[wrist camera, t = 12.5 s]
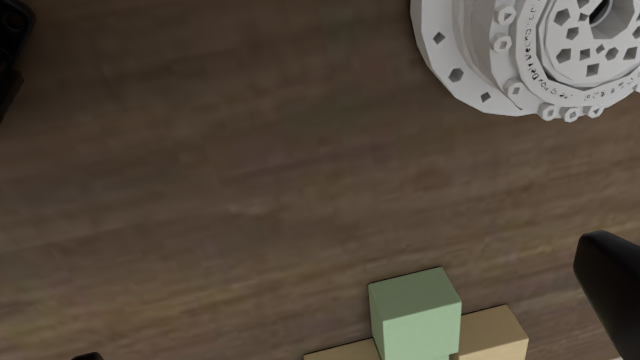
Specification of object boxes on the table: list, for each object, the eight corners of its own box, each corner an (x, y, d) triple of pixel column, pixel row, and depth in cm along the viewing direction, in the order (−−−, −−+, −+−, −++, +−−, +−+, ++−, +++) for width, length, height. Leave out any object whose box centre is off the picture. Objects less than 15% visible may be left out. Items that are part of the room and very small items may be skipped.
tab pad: (367, 283, 27) (382, 321, 25) (441, 266, 28) (462, 301, 26) (374, 361, 31) (387, 399, 29) (439, 344, 32) (456, 381, 30)
